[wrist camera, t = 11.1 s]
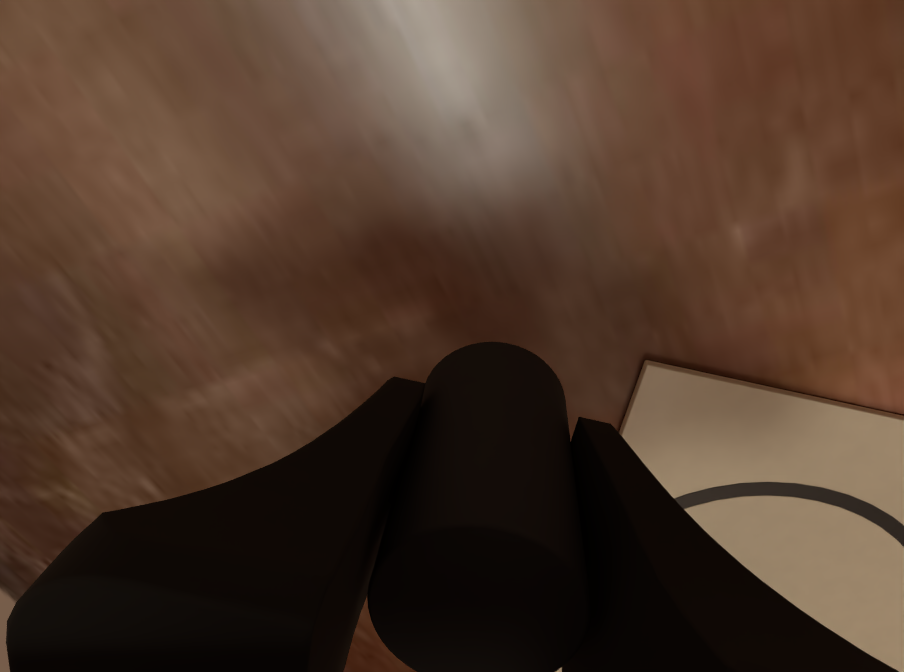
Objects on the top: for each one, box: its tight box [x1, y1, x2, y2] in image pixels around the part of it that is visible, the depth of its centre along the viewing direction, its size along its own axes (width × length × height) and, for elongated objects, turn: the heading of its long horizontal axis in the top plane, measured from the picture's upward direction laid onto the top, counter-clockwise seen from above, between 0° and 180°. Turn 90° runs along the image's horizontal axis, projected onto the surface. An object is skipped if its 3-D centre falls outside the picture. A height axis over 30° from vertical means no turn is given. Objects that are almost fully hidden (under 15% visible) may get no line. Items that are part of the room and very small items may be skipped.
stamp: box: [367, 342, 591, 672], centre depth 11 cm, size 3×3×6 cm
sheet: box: [556, 360, 904, 672], centre depth 19 cm, size 15×14×1 cm
